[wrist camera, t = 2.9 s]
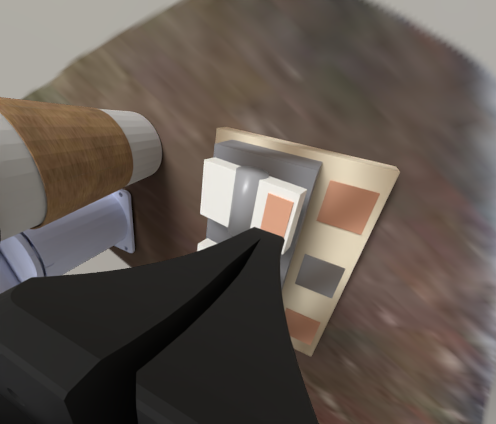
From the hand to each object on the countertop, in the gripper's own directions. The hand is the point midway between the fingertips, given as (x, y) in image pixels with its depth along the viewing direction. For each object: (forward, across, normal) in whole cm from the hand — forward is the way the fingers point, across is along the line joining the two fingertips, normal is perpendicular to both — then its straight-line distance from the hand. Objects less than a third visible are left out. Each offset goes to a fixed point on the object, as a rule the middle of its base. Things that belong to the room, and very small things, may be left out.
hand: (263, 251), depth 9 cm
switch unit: (+9, +1, +6) cm, 11 cm away
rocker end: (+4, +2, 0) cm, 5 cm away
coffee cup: (+9, +16, 0) cm, 18 cm away
